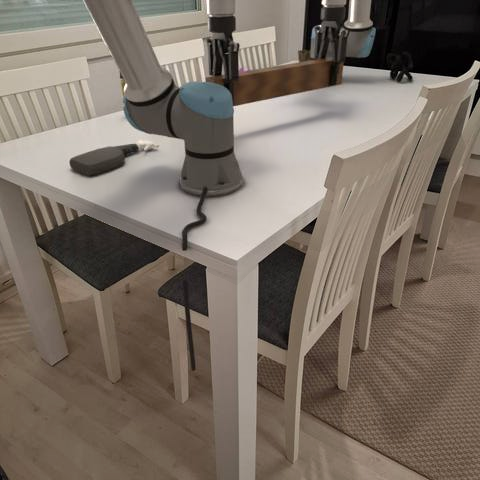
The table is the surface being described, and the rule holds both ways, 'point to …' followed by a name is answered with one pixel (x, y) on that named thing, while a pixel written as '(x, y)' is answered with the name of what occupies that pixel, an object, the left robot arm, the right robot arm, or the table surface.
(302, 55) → the cup
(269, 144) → the table surface
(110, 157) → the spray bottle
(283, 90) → the bar
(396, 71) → the squiggle
